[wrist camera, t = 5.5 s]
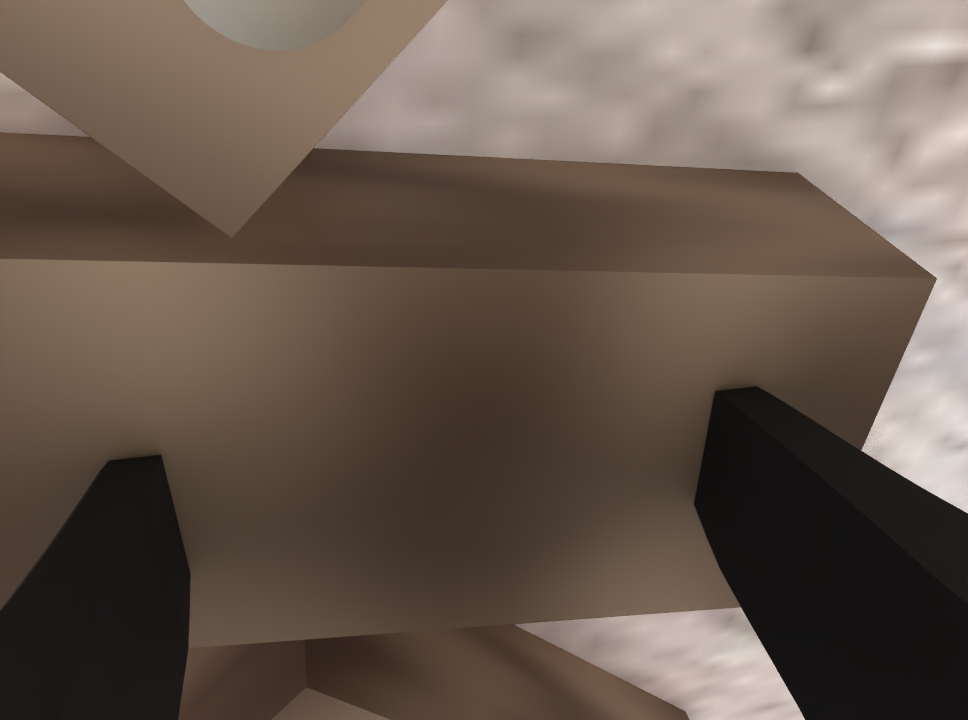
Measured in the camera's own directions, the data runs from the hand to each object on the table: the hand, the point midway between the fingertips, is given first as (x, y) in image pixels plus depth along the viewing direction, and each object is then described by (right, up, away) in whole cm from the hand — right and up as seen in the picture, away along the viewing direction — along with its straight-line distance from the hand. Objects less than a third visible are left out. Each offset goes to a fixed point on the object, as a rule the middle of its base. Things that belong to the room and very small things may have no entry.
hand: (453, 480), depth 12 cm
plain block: (-1, +2, +3) cm, 4 cm away
